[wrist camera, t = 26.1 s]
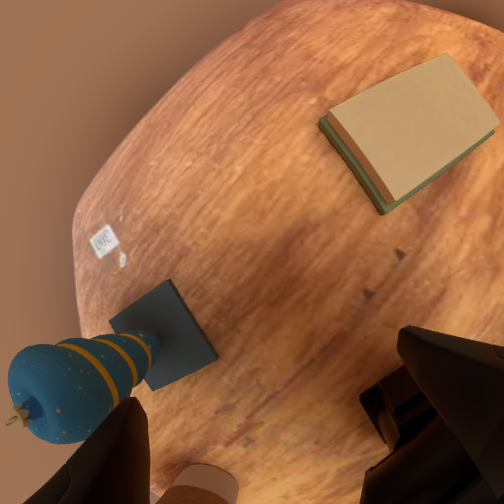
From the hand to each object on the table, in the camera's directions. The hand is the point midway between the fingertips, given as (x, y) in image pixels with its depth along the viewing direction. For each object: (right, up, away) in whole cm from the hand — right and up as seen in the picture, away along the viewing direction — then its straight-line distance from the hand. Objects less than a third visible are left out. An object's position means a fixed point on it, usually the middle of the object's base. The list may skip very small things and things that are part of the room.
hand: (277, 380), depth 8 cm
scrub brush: (+12, +14, +10) cm, 21 cm away
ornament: (-8, -3, +13) cm, 15 cm away
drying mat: (-8, -3, +13) cm, 16 cm away
